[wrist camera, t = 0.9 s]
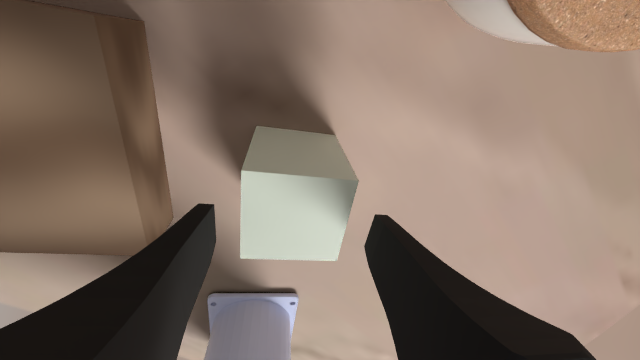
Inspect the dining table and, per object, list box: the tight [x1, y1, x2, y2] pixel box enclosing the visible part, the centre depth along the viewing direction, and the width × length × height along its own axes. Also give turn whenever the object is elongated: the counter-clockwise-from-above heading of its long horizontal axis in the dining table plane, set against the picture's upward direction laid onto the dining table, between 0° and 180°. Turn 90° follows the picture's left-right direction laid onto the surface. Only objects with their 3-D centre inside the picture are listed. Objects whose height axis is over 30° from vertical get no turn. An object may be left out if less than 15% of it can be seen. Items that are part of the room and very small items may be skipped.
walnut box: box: [0, 0, 173, 255], centre depth 12 cm, size 12×12×4 cm
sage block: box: [240, 126, 359, 261], centre depth 14 cm, size 5×5×6 cm
